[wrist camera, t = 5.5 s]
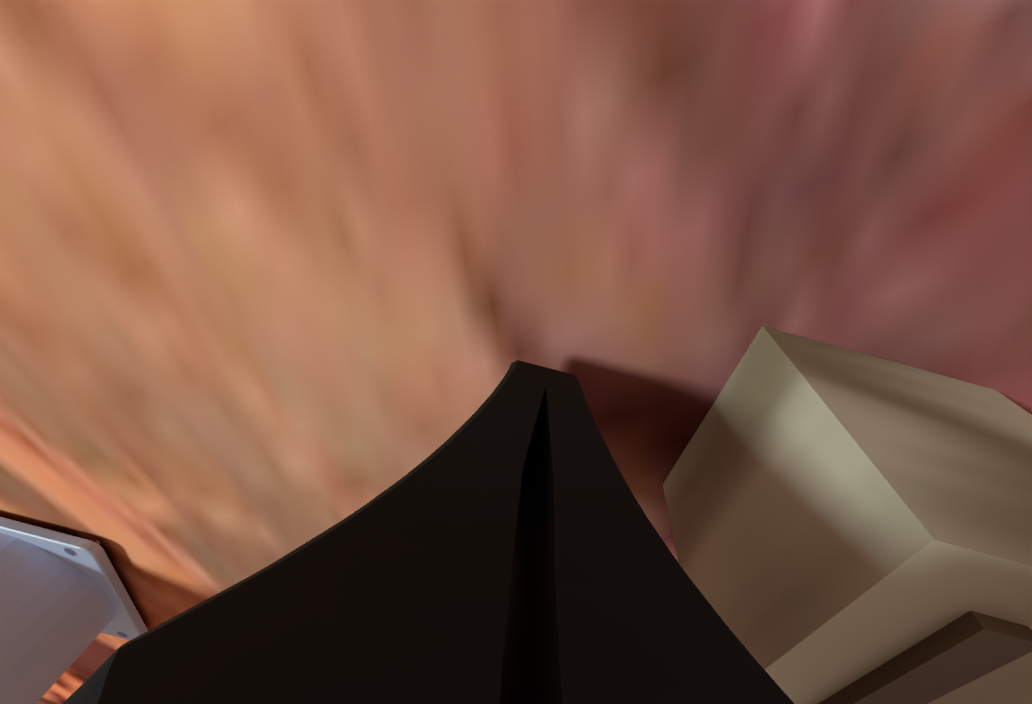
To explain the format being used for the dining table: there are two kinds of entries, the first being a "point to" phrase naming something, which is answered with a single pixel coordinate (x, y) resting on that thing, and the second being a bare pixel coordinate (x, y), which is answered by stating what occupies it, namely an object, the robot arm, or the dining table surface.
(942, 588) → the letter cube
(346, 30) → the dining table surface
